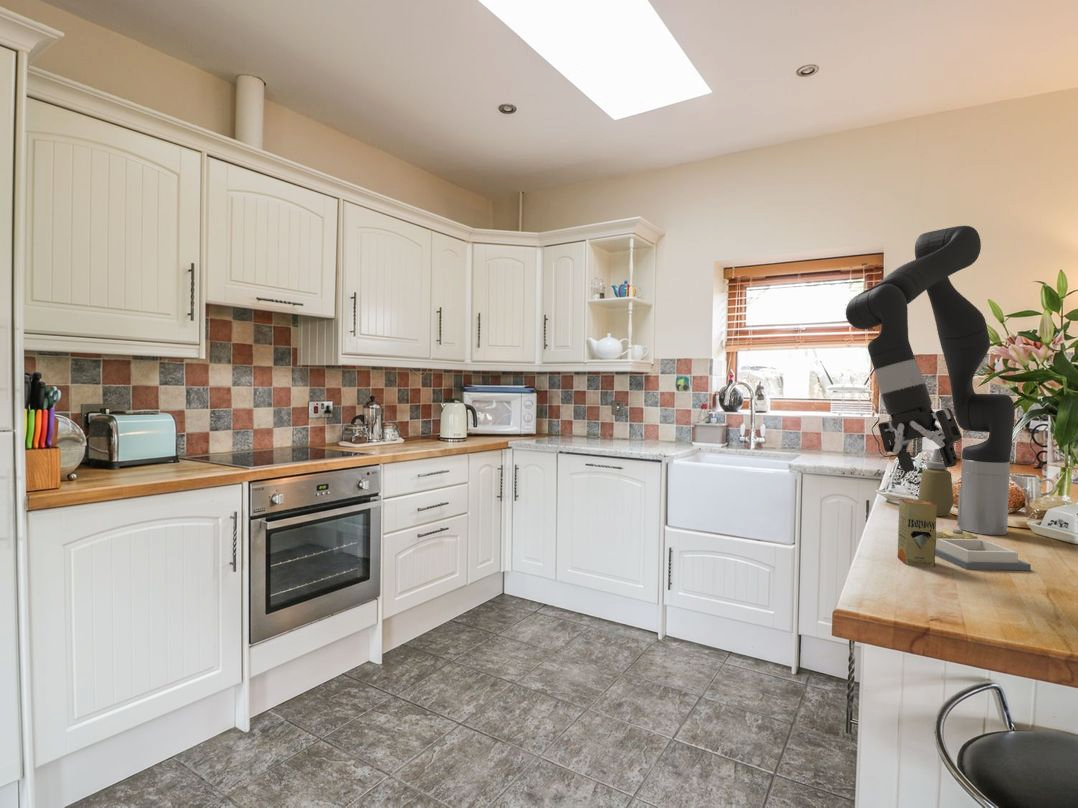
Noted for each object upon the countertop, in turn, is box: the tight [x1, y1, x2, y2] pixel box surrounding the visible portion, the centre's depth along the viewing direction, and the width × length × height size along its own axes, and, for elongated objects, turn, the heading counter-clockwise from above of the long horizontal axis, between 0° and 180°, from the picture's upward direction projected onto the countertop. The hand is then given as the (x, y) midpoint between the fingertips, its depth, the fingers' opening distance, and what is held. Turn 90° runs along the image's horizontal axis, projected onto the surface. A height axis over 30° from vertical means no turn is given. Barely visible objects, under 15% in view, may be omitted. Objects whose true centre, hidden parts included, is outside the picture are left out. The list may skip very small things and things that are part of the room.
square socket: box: [936, 538, 1019, 563], centre depth 116 cm, size 9×9×2 cm
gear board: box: [935, 529, 1032, 571], centre depth 121 cm, size 20×12×4 cm, turn 178°
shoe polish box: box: [897, 498, 937, 568], centre depth 115 cm, size 5×5×12 cm
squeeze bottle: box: [917, 448, 955, 517], centre depth 159 cm, size 8×8×18 cm
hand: (929, 469), depth 110 cm, fingers open, 8 cm apart
